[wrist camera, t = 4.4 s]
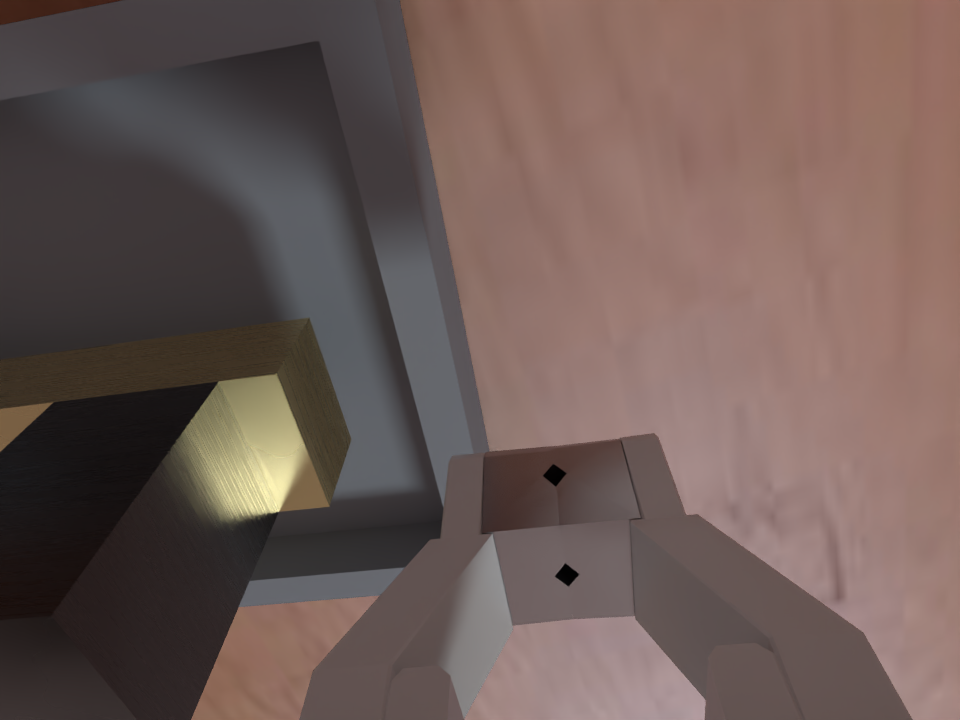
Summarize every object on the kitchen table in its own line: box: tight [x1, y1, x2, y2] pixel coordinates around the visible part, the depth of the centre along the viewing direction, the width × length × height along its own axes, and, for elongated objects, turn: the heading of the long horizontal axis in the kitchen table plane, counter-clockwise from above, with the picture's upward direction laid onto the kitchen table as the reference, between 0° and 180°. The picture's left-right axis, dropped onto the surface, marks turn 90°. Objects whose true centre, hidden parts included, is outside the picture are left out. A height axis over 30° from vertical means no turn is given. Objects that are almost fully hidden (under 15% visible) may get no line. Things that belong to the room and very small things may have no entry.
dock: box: [0, 0, 490, 607], centre depth 14 cm, size 14×14×2 cm
